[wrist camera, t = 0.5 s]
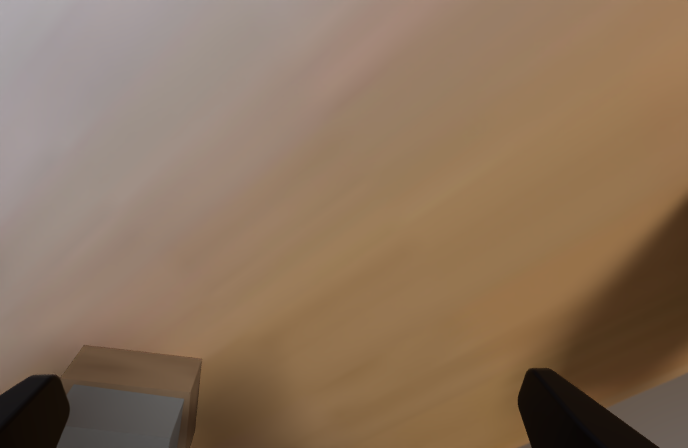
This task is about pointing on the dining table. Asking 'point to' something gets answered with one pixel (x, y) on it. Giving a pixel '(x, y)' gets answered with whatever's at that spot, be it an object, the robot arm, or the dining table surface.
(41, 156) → the dining table surface
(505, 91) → the dining table surface
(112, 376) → the walnut block
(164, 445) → the grey block
